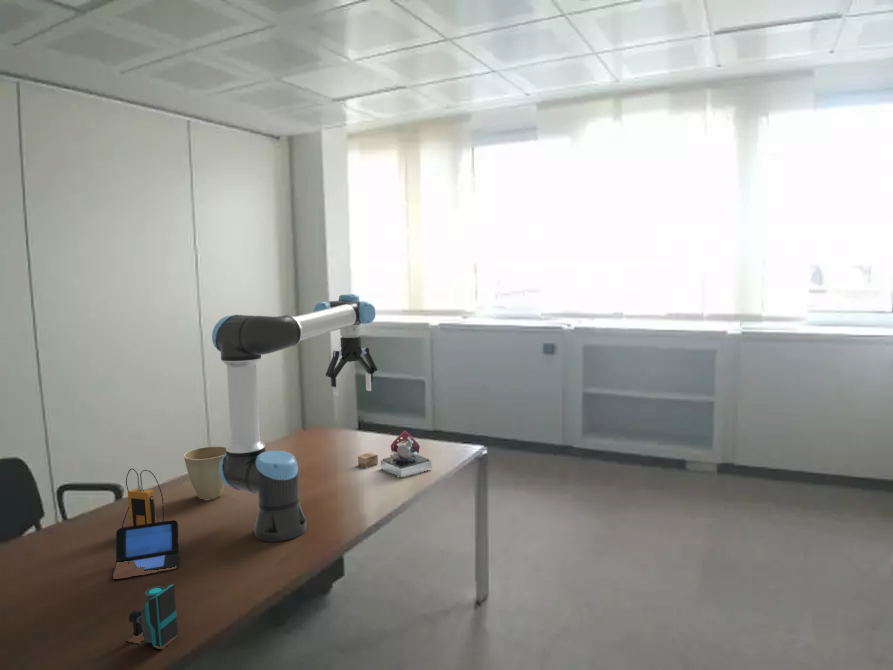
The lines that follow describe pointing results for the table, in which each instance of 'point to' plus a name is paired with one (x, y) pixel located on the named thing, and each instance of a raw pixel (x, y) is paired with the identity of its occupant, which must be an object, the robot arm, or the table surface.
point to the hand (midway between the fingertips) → (352, 393)
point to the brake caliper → (404, 448)
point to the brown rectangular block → (367, 459)
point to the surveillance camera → (157, 616)
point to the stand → (406, 466)
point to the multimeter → (141, 504)
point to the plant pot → (205, 471)
